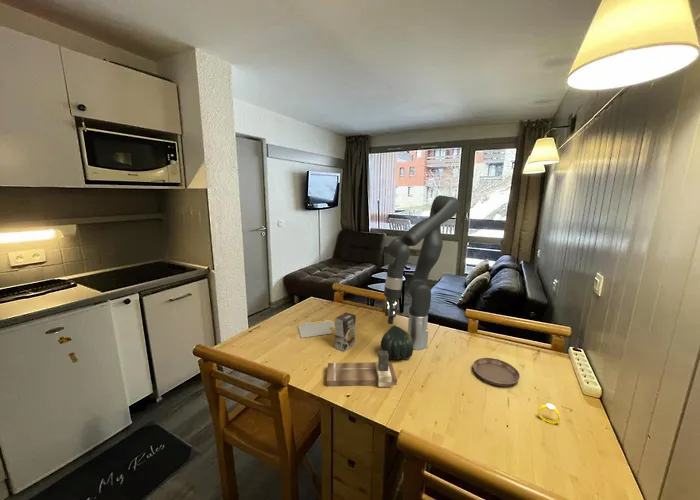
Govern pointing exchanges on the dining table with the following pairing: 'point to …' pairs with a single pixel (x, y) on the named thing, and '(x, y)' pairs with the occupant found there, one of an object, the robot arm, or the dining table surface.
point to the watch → (552, 408)
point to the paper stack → (315, 329)
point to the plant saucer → (496, 371)
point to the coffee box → (345, 331)
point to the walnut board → (355, 374)
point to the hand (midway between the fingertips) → (388, 319)
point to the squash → (397, 343)
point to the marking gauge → (383, 370)
